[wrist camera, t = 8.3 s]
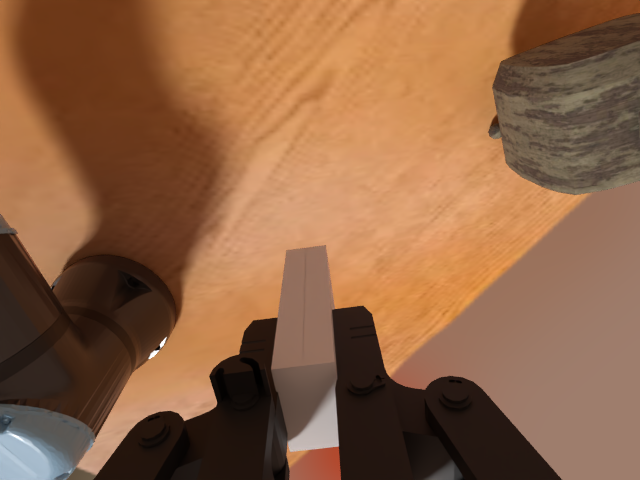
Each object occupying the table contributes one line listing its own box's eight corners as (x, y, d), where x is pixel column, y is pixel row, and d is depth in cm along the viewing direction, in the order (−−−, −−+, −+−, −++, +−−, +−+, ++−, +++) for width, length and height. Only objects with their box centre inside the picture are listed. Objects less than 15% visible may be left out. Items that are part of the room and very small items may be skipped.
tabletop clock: (479, 151, 46) (637, 247, 23) (461, 67, 43) (628, 83, 20) (615, 104, 44) (934, 159, 21) (609, 13, 41) (982, -40, 18)
